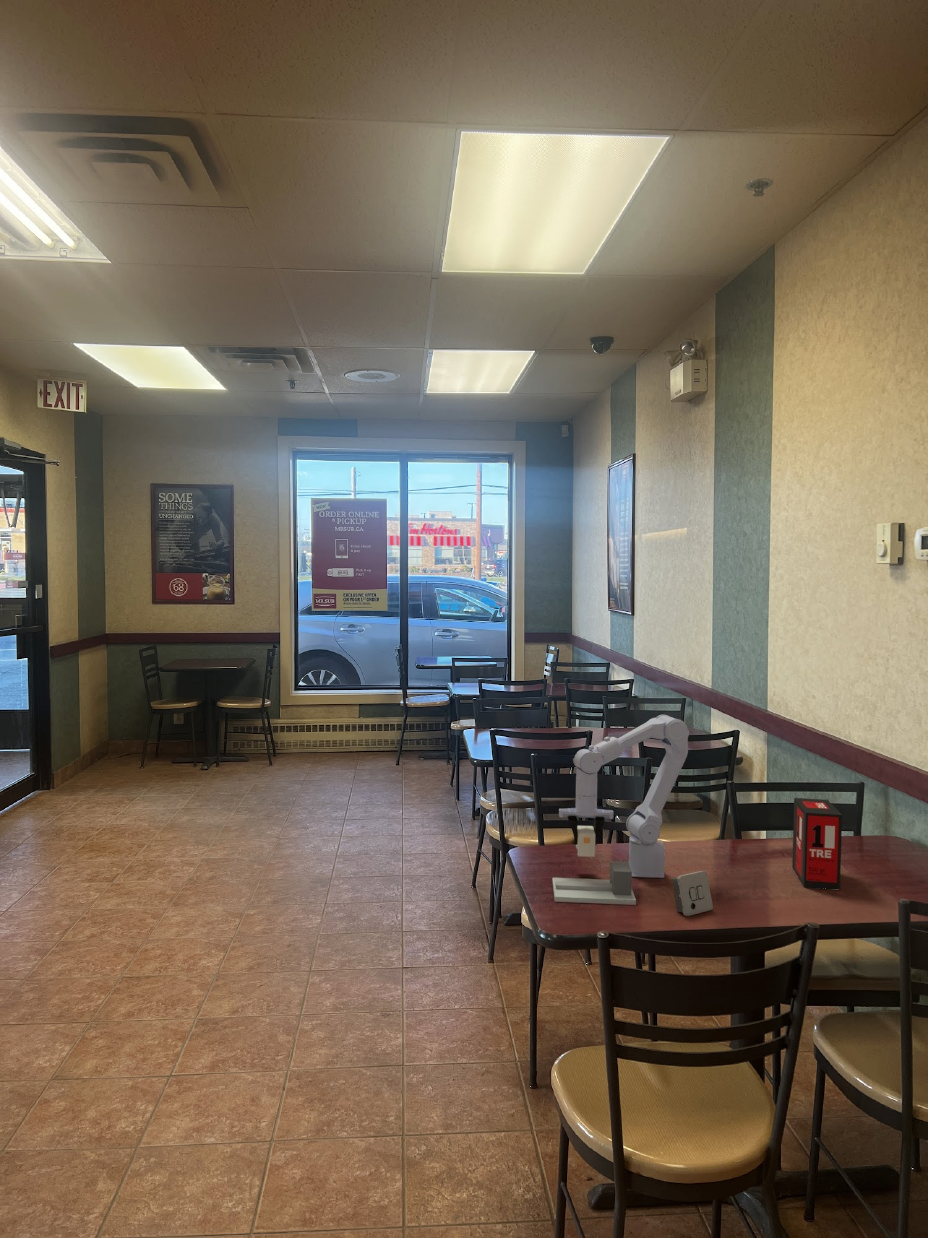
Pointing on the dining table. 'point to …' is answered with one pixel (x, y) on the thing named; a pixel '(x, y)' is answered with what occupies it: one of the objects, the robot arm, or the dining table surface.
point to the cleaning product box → (817, 843)
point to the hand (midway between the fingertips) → (585, 844)
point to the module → (585, 841)
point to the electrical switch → (692, 893)
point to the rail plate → (598, 887)
